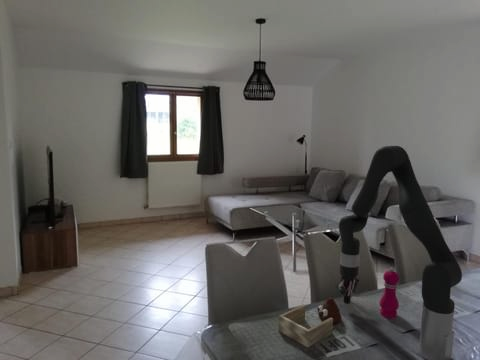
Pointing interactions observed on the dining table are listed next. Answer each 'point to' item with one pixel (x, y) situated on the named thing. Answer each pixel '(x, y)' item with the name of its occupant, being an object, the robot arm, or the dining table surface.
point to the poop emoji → (330, 311)
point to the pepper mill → (389, 295)
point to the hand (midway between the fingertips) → (347, 302)
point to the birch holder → (301, 333)
